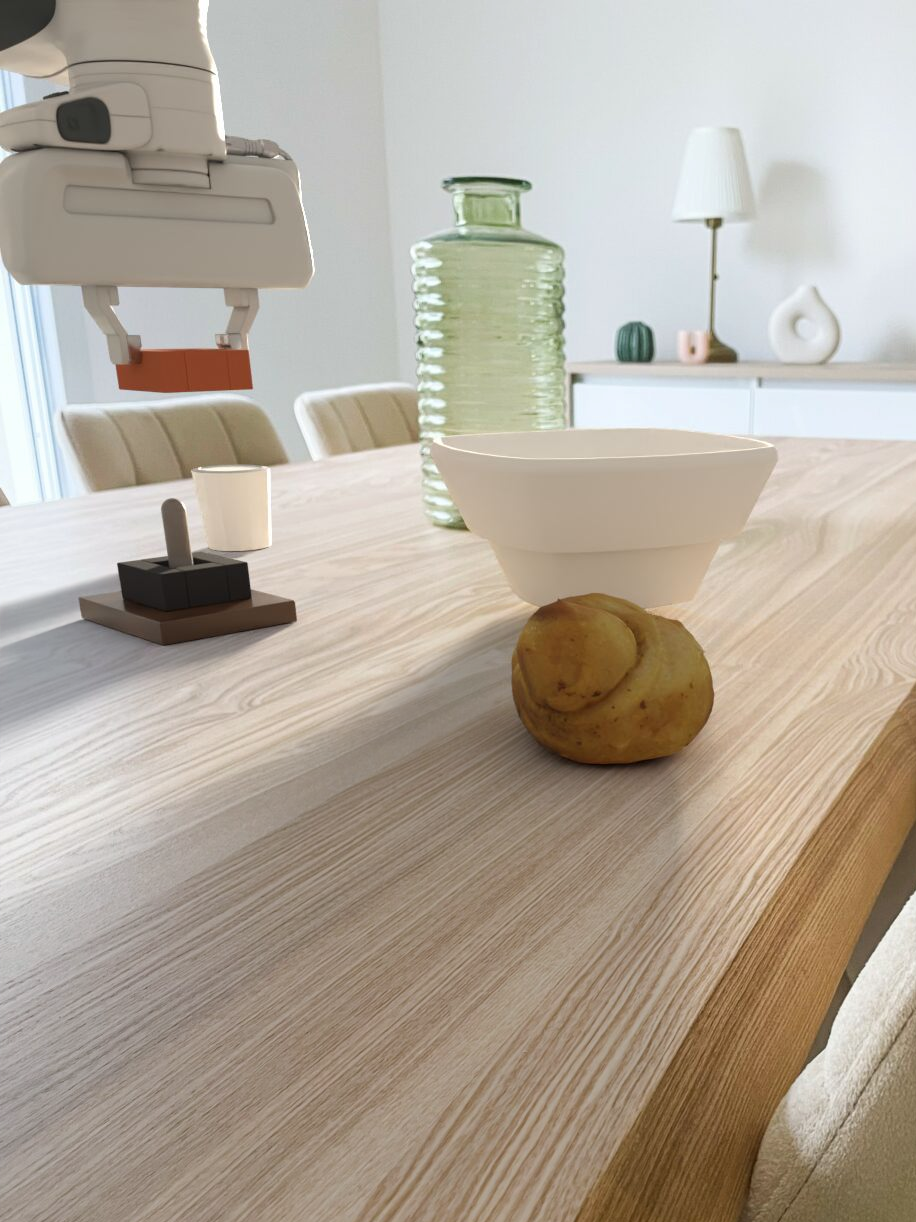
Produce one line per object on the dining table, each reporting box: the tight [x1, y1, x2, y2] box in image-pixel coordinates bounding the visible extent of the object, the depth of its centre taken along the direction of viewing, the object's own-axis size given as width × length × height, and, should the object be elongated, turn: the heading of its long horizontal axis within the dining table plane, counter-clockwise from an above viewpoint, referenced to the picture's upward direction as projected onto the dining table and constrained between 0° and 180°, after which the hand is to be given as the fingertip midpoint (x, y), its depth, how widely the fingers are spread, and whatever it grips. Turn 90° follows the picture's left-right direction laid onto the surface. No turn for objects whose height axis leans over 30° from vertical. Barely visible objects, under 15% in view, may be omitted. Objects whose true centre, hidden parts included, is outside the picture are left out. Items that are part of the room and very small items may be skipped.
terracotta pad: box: [114, 347, 254, 394], centre depth 87 cm, size 6×6×2 cm
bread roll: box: [510, 593, 715, 765], centre depth 64 cm, size 13×10×8 cm
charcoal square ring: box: [116, 551, 252, 612], centre depth 90 cm, size 6×6×2 cm
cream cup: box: [190, 463, 272, 552], centre depth 119 cm, size 7×7×7 cm
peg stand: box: [78, 497, 298, 646], centre depth 90 cm, size 12×10×8 cm
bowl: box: [429, 427, 779, 610], centre depth 93 cm, size 22×22×12 cm
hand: (181, 363), depth 87 cm, fingers closed on terracotta pad, 6 cm apart
